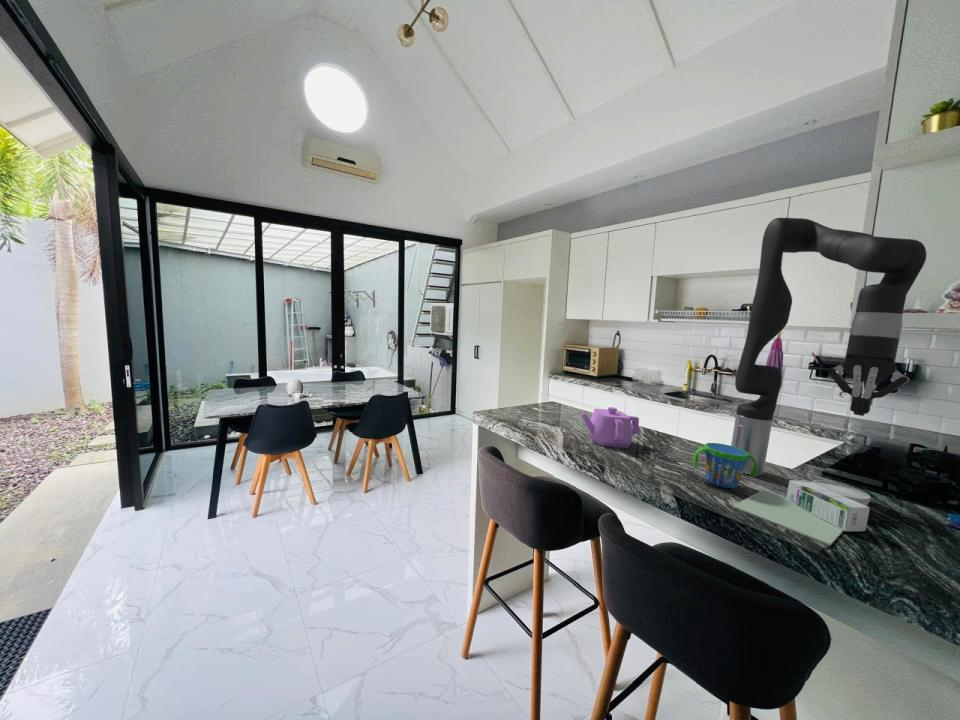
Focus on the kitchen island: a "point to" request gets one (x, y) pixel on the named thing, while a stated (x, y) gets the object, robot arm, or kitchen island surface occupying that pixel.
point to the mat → (788, 516)
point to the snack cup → (724, 464)
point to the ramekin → (845, 491)
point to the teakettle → (611, 427)
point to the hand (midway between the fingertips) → (858, 414)
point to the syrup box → (828, 505)
